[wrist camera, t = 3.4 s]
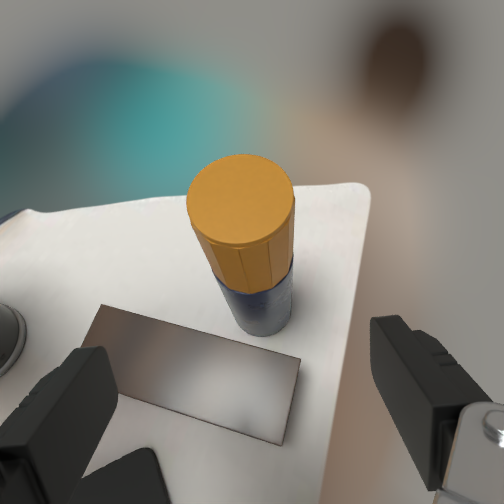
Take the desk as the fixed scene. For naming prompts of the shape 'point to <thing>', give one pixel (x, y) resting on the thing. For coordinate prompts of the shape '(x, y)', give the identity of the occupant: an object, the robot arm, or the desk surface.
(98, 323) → the small brown bench
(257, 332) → the flask
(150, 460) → the phone
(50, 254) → the desk surface
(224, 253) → the cap
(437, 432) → the robot arm
